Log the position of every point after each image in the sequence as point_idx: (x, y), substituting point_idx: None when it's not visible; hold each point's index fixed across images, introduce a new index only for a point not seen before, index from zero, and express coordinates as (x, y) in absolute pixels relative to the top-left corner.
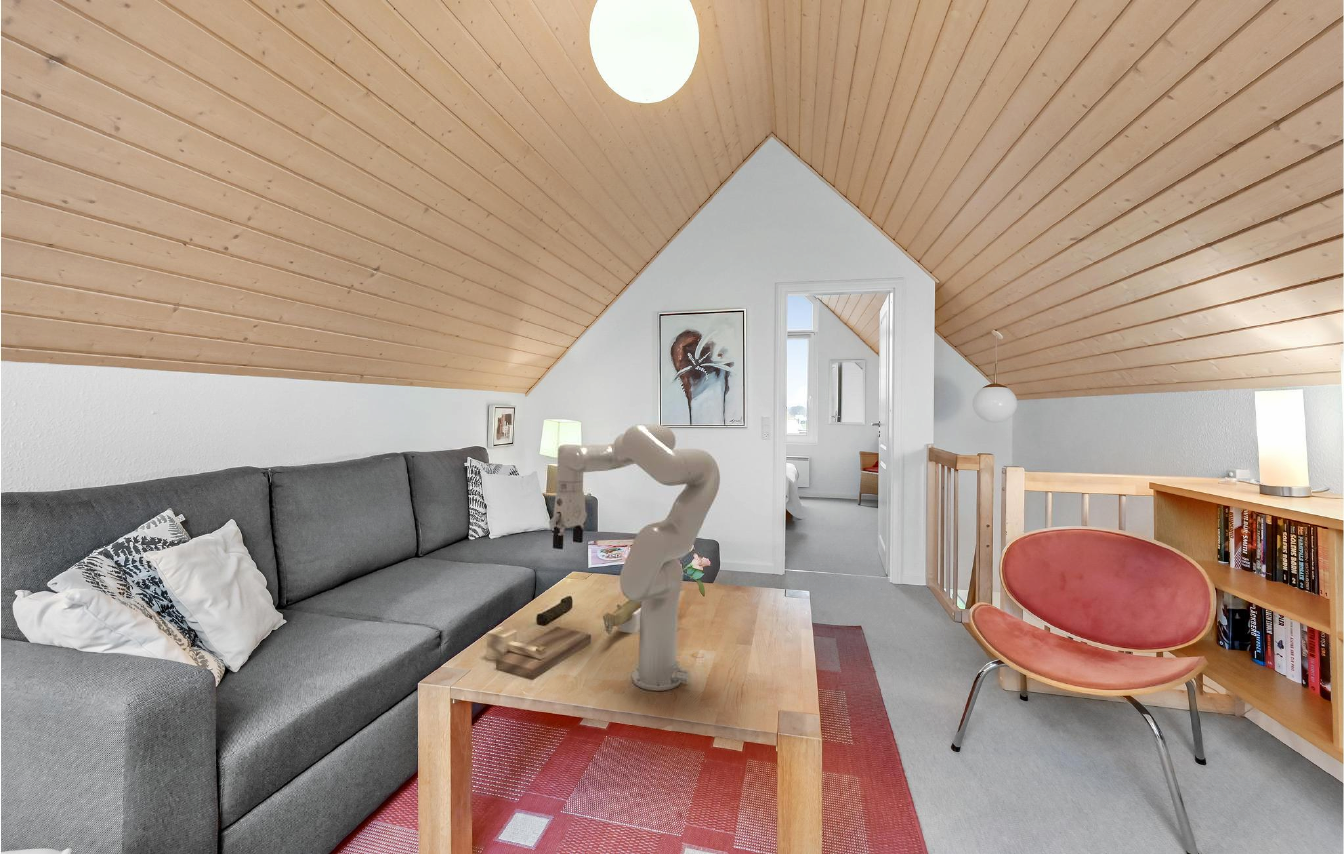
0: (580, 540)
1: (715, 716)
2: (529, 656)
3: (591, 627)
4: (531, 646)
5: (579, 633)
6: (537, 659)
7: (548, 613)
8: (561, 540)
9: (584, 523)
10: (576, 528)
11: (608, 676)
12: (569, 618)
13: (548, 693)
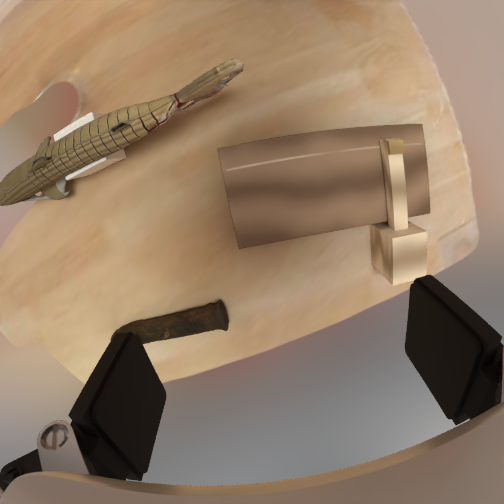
0: (133, 347)
1: None
2: None
3: (154, 216)
4: (392, 177)
5: (233, 174)
6: None
7: (204, 317)
8: (468, 316)
9: (21, 460)
10: (121, 465)
11: (317, 20)
12: (156, 292)
13: (423, 73)
